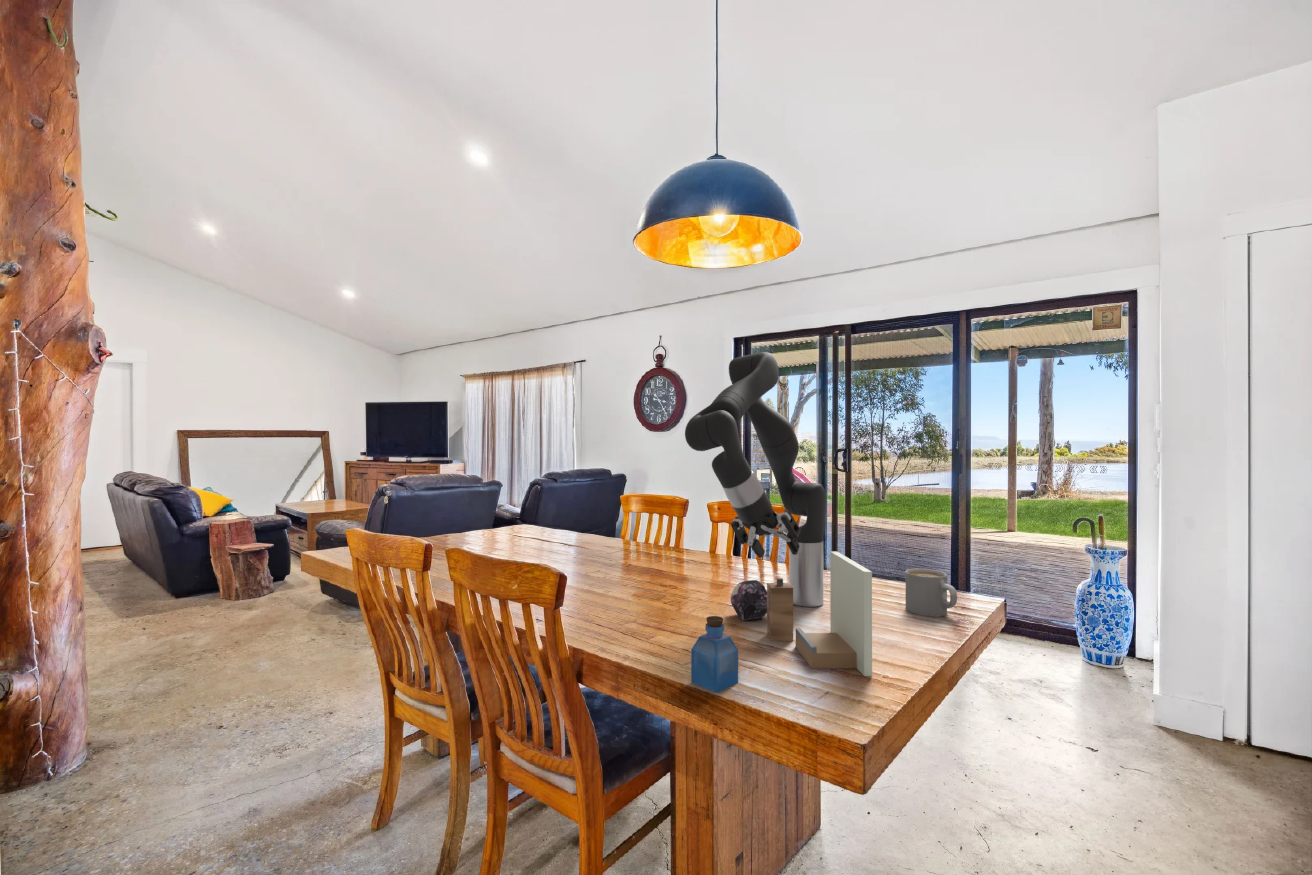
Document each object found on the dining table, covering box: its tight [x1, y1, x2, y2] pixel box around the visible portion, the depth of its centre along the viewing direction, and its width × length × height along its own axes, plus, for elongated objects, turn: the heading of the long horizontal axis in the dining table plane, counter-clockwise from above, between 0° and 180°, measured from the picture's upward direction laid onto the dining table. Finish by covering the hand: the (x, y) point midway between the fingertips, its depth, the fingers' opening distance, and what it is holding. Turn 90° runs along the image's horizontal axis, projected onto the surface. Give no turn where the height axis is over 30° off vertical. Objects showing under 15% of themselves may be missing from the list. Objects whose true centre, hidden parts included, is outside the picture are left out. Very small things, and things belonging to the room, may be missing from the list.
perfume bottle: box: [690, 615, 739, 694], centre depth 109 cm, size 6×6×12 cm
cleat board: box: [795, 551, 873, 677], centre depth 122 cm, size 20×10×20 cm, turn 1°
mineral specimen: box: [730, 579, 767, 622], centre depth 148 cm, size 10×10×10 cm
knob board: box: [766, 577, 794, 642], centre depth 134 cm, size 4×5×14 cm
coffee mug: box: [905, 568, 958, 617], centre depth 153 cm, size 13×10×10 cm
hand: (778, 553), depth 128 cm, fingers open, 8 cm apart
